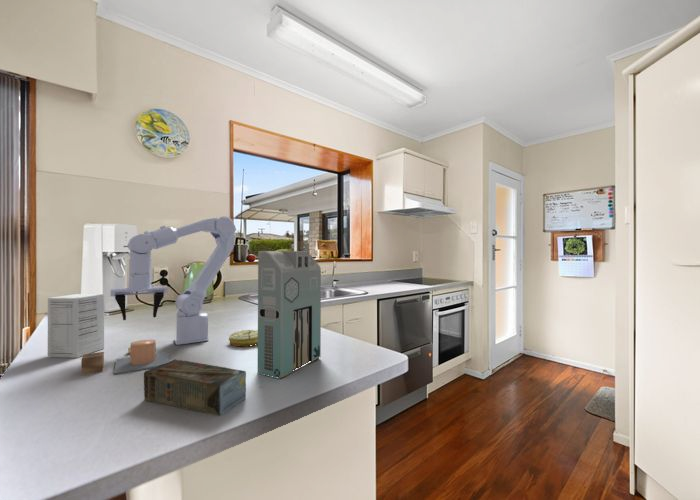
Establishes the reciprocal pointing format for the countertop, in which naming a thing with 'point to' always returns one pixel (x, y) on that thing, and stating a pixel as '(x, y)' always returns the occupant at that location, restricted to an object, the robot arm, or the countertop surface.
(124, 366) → the slate mat
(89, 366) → the walnut block
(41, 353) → the countertop surface
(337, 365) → the countertop surface
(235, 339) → the decorated donut
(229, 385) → the beverage carton
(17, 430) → the countertop surface
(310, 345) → the device
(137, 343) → the peach faceted cylinder
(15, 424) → the countertop surface
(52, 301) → the supplement box
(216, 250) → the robot arm
